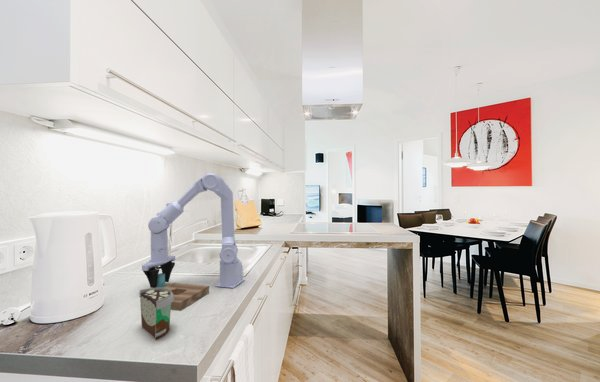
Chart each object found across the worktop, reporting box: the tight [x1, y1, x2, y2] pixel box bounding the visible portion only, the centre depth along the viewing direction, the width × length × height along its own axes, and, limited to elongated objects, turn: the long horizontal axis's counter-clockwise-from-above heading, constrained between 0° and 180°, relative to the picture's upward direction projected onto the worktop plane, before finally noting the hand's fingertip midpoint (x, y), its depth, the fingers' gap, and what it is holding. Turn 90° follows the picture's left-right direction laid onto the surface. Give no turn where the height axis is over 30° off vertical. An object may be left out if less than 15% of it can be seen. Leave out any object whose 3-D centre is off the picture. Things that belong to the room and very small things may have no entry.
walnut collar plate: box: [164, 282, 210, 311], centre depth 94 cm, size 15×15×2 cm
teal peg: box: [156, 272, 166, 288], centre depth 104 cm, size 4×4×6 cm
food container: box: [138, 287, 174, 341], centre depth 74 cm, size 12×6×10 cm, turn 48°
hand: (159, 284), depth 104 cm, fingers open, 6 cm apart
